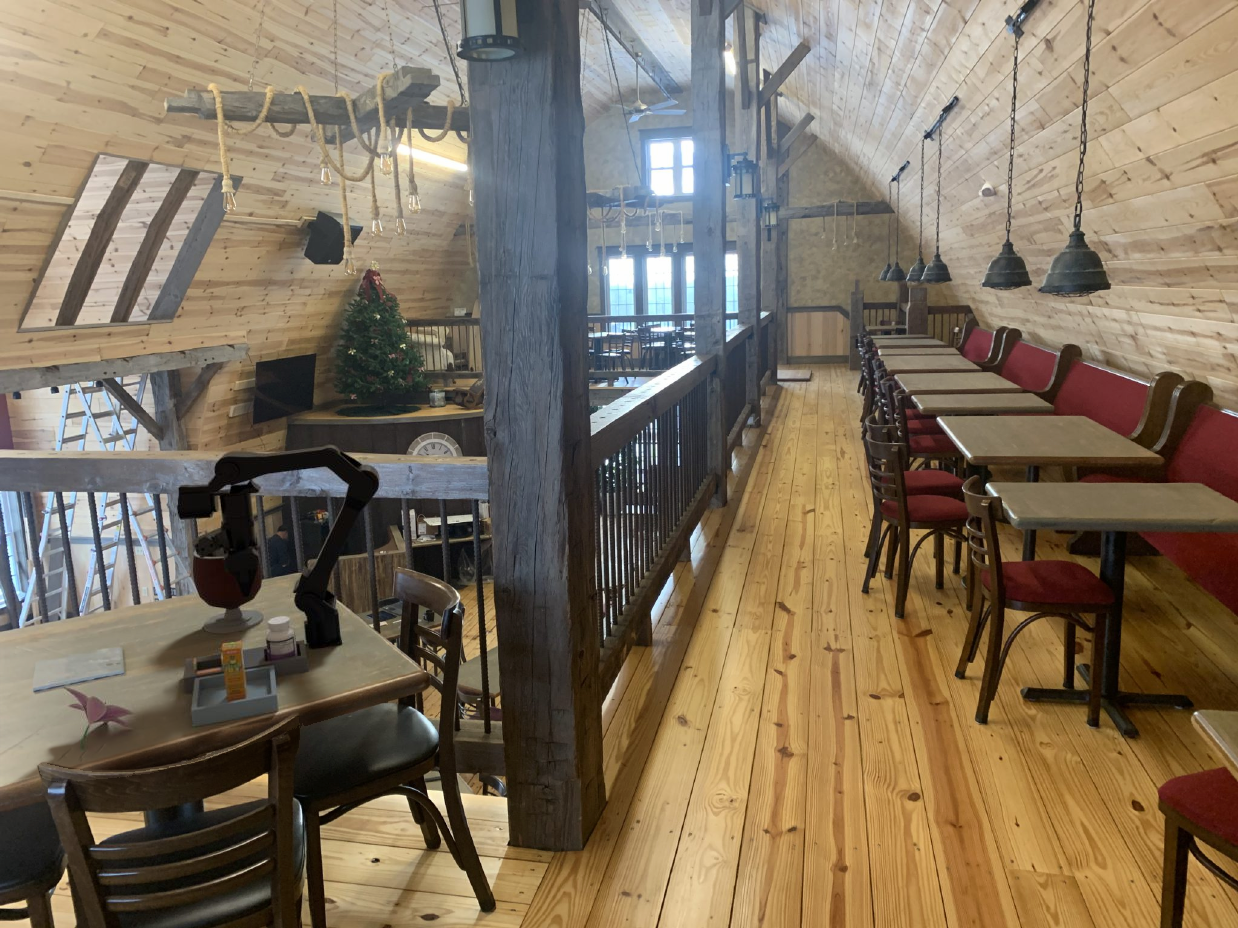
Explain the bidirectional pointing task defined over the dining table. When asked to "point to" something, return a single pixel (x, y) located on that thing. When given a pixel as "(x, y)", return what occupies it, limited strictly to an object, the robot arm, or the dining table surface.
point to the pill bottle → (280, 639)
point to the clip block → (251, 660)
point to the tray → (216, 707)
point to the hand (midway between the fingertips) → (245, 589)
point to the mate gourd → (224, 593)
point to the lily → (98, 710)
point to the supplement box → (234, 670)
